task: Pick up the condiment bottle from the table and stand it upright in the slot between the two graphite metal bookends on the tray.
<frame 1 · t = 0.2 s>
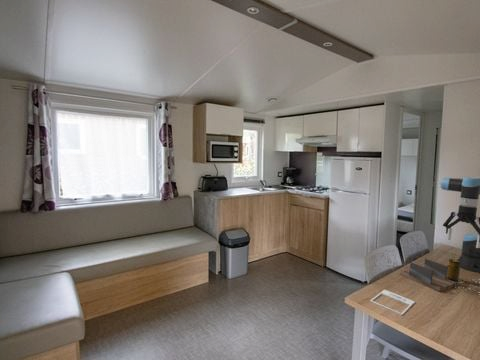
hand: (462, 243, 148), 27 cm above the table, fingers open, 13 cm apart
condiment: (453, 280, 164), on the table
tray: (426, 280, 161), on the table
photo frame: (392, 303, 135), on the table
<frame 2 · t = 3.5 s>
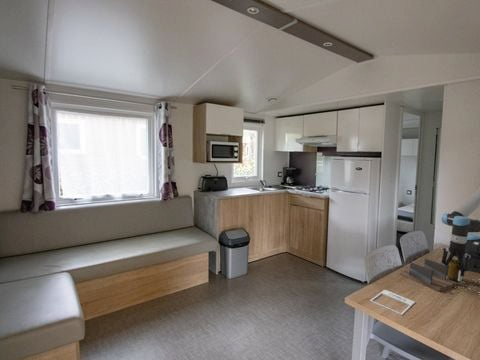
hand: (453, 278, 164), 1 cm above the table, fingers closed on condiment, 6 cm apart
condiment: (454, 280, 163), on the table, touching gripper
everything else where it was.
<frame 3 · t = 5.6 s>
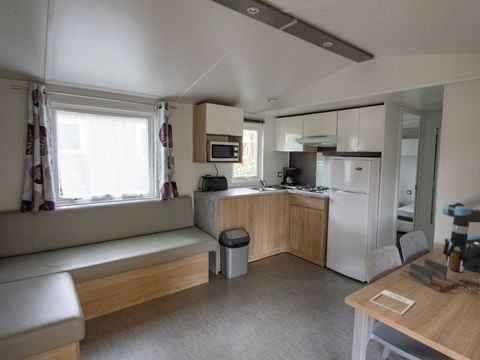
hand: (455, 268, 163), 7 cm above the table, fingers closed on condiment, 6 cm apart
condiment: (456, 271, 163), point 6 cm above the table, touching gripper
everything else where it was.
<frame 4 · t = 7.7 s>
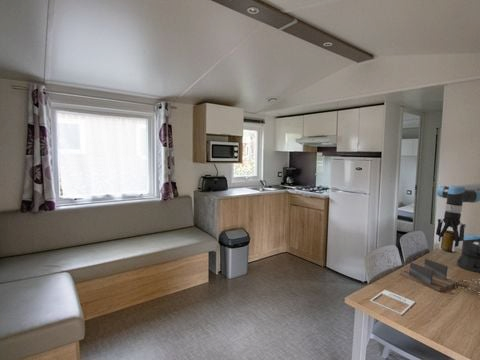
hand: (447, 249, 161), 19 cm above the table, fingers closed on condiment, 6 cm apart
condiment: (448, 251, 160), point 18 cm above the table, touching gripper
everything else where it was.
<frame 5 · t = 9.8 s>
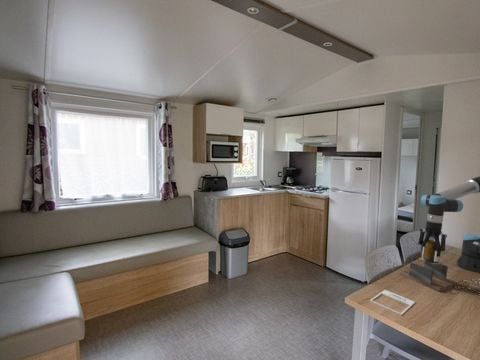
hand: (429, 259, 160), 13 cm above the table, fingers closed on condiment, 6 cm apart
condiment: (430, 261, 159), point 12 cm above the table, touching gripper
everything else where it was.
when the fingers open (4 cm above the table, at t = 11.7 s): condiment drops 1 cm, resting on tray.
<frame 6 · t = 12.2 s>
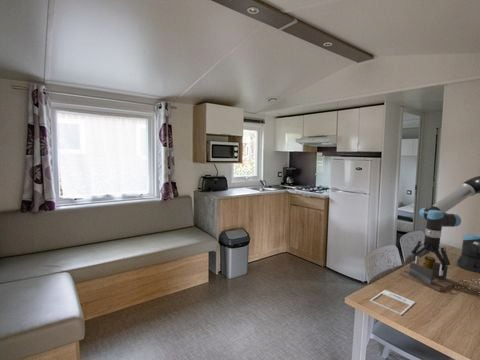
hand: (428, 270, 161), 6 cm above the table, fingers open, 13 cm apart
condiment: (428, 277, 161), point 2 cm above the table, touching tray
everything else where it was.
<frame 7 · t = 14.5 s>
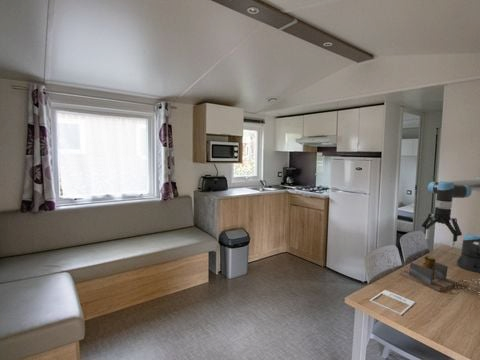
hand: (439, 242, 159), 24 cm above the table, fingers open, 13 cm apart
nothing on the table moved.
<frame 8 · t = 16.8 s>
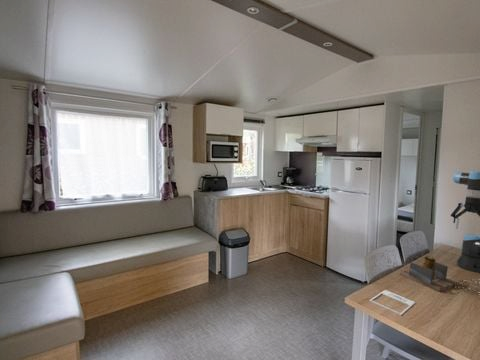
hand: (469, 231, 160), 31 cm above the table, fingers open, 13 cm apart
nothing on the table moved.
at the end: condiment inside the target area on the tray (0.7 cm from its centre), point 1.8 cm above the tray's base; condiment tilted 0°; the gripper is holding nothing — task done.
